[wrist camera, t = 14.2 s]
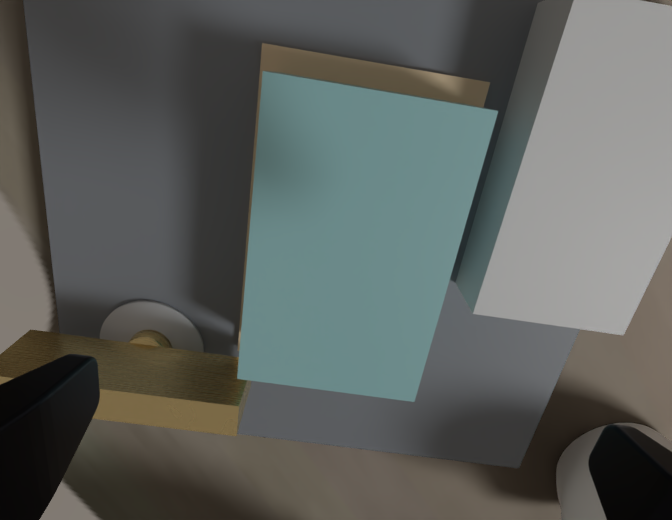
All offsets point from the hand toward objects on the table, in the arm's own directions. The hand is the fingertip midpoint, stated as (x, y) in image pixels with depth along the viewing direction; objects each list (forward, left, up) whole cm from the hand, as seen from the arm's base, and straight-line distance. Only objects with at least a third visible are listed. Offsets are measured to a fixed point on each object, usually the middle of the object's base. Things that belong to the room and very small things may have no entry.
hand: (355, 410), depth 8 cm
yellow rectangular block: (-7, +7, -10) cm, 14 cm away
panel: (-1, 0, -11) cm, 11 cm away
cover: (0, 0, -10) cm, 10 cm away
